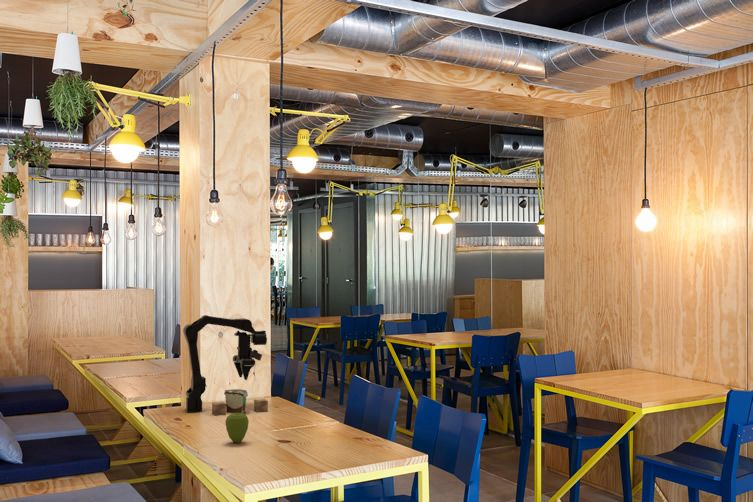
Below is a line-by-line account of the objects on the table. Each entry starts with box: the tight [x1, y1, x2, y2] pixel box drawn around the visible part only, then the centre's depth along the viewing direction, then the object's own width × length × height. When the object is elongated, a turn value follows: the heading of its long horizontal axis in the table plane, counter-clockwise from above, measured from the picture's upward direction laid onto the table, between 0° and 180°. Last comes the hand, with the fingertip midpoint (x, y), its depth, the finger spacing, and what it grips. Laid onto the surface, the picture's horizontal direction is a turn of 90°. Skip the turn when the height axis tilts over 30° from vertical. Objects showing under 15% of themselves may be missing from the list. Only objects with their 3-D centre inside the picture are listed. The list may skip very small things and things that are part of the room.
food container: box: [223, 388, 249, 415], centre depth 325 cm, size 12×6×10 cm, turn 58°
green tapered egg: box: [224, 412, 250, 444], centre depth 268 cm, size 9×8×12 cm
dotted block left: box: [211, 401, 227, 417], centre depth 321 cm, size 5×5×5 cm
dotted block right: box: [253, 398, 269, 413], centre depth 328 cm, size 5×5×5 cm
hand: (243, 378), depth 338 cm, fingers open, 9 cm apart
